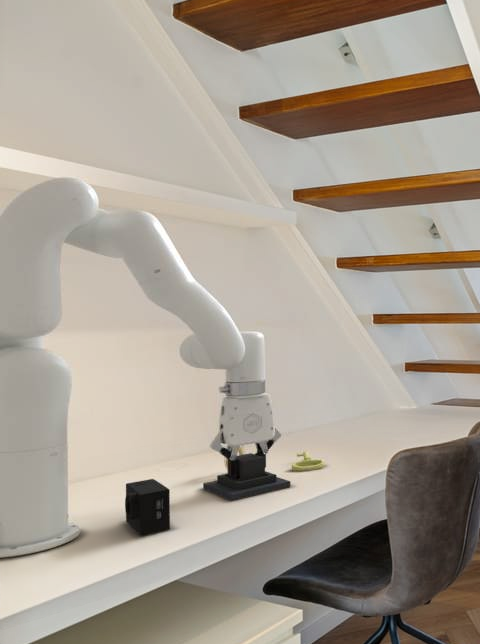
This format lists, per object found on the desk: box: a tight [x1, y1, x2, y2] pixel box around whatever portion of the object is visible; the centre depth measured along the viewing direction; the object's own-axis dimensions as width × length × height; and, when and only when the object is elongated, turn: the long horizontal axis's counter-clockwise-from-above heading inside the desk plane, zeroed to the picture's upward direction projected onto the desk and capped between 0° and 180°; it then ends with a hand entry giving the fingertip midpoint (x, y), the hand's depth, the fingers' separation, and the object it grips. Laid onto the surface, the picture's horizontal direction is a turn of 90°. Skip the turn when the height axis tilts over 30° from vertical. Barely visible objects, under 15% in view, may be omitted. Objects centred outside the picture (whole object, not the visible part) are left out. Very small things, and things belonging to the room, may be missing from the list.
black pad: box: [229, 452, 266, 481], centre depth 125 cm, size 5×6×4 cm
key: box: [291, 450, 325, 472], centre depth 144 cm, size 7×12×2 cm, turn 43°
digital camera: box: [124, 478, 171, 537], centre depth 102 cm, size 10×5×7 cm, turn 46°
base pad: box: [202, 470, 291, 502], centre depth 125 cm, size 12×14×3 cm
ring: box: [223, 444, 246, 472], centre depth 138 cm, size 7×3×8 cm, turn 173°
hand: (247, 474), depth 125 cm, fingers closed on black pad, 4 cm apart
